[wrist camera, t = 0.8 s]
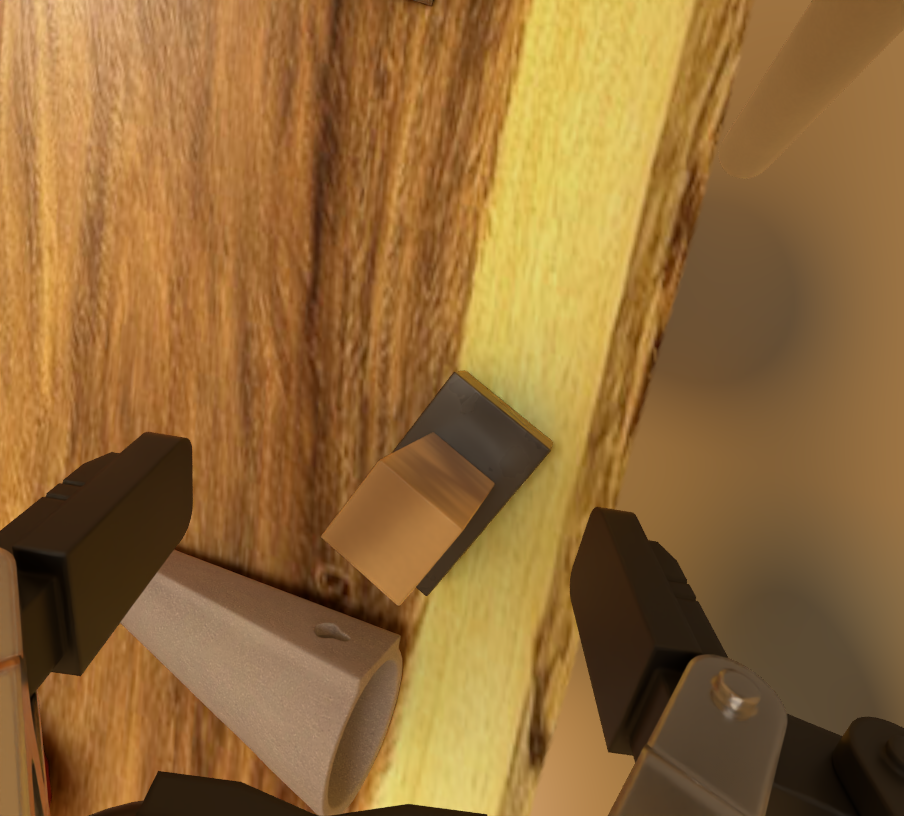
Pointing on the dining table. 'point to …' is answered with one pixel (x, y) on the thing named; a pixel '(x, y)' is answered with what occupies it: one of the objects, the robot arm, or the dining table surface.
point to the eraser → (437, 489)
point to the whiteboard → (425, 1)
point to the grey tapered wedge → (276, 673)
